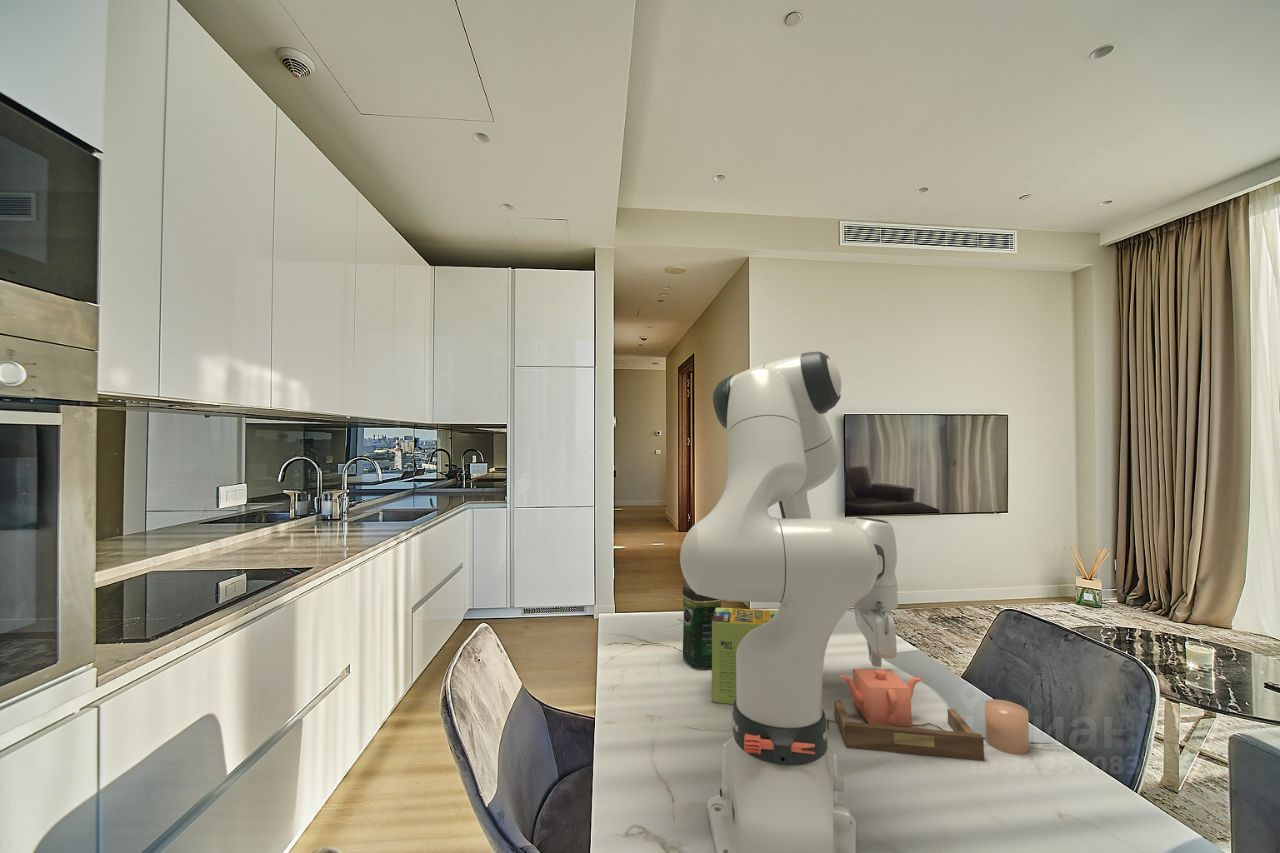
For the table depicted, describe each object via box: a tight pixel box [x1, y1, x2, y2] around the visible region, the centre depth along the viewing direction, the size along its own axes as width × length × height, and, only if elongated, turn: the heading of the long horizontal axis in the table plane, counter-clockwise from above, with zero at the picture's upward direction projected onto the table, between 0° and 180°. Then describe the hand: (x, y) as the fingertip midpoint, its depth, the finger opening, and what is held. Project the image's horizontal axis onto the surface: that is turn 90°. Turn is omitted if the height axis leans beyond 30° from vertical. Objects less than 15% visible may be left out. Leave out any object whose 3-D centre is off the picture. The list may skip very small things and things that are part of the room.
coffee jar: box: [682, 581, 723, 670], centre depth 125 cm, size 10×8×19 cm
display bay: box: [833, 699, 985, 762], centre depth 92 cm, size 12×20×4 cm, turn 79°
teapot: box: [838, 668, 924, 728], centre depth 99 cm, size 12×15×8 cm
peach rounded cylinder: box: [984, 698, 1031, 756], centre depth 90 cm, size 6×6×6 cm
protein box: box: [711, 607, 778, 705], centre depth 108 cm, size 10×15×16 cm
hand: (875, 664), depth 112 cm, fingers closed
